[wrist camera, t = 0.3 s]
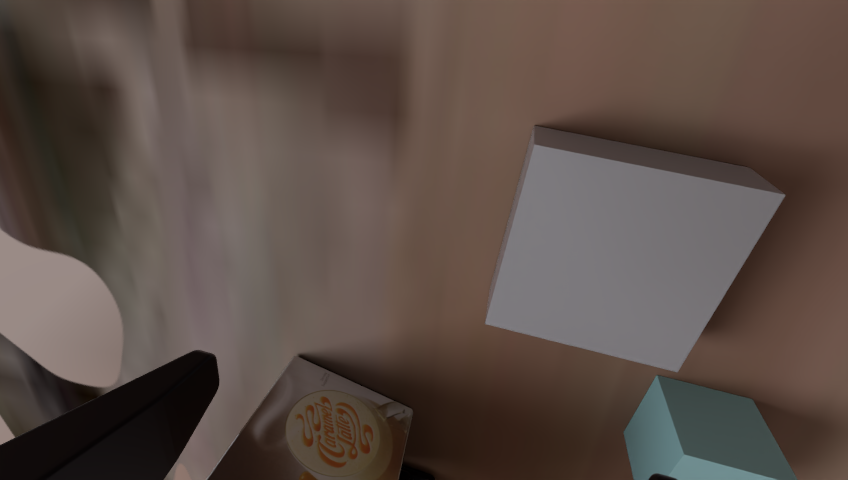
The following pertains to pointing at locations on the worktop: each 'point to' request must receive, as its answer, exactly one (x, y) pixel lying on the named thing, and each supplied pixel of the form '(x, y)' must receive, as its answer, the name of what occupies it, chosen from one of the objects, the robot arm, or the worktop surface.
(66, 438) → the robot arm
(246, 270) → the worktop surface
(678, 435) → the teal cube
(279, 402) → the coffee box
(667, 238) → the stone plinth
